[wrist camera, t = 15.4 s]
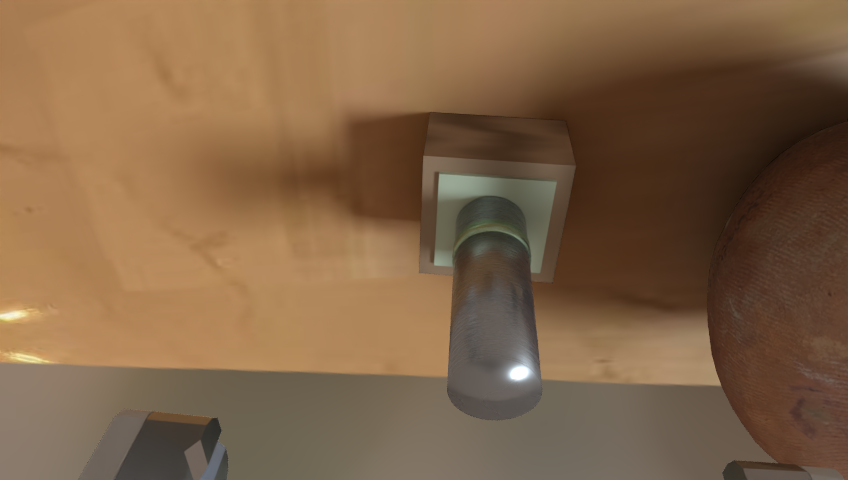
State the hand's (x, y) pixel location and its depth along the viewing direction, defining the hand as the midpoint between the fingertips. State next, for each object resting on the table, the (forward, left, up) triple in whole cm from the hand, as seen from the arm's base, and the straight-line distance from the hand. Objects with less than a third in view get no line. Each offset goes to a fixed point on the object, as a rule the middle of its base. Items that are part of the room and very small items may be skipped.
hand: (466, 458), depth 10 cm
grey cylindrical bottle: (+2, -14, -27) cm, 30 cm away
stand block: (+2, -14, -33) cm, 36 cm away
